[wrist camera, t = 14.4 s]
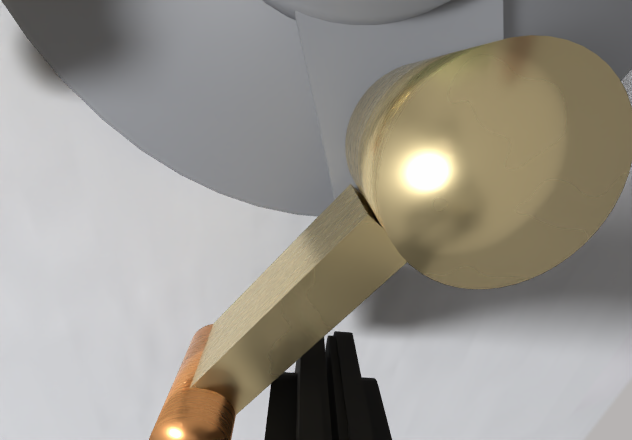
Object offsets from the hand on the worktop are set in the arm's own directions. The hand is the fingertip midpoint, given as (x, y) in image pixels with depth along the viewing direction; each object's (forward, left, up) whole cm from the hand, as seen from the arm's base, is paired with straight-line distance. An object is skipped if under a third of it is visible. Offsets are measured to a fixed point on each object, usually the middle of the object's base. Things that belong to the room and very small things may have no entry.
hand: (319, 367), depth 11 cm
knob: (+1, +4, -1) cm, 4 cm away
